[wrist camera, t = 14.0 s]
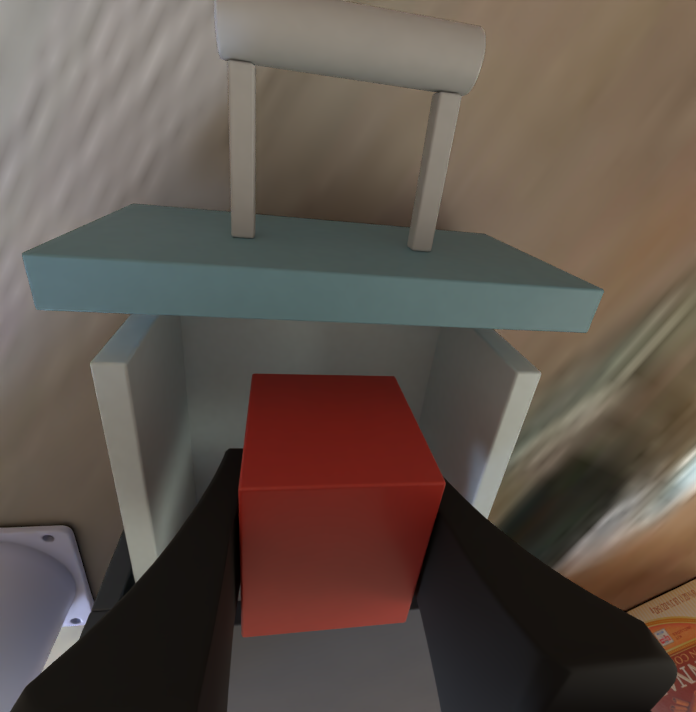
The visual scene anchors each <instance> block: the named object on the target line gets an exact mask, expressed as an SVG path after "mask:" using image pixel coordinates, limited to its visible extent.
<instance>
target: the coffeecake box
mask: <svg viewBox="0 0 696 712" xmlns="http://www.w3.org/2000/svg"><path fill="white" fill-rule="evenodd" d="M626 613H628V614H630V615H632V616H634V617H636V618H637V619H639V620H641V621H643V622H644V623H645V624H646V626H647V627H648V628H649V629H650V631H651V632H652V633H653V635H654V636H655V637H656V639H657V640H658V641H659V643H660V644H661V645H662V647H663V648H664V649H665V651H666V652H667V653H668V655H669V656H670V657H671V659H672V660H673V661H674V663H675V664H676V667H677V677H676V681H675V683H674V684H673V685H672V687H671V688H670V690H669V691H668V692H667V693H666V694H665V695H664V696H663V697H662V698H661V700H660V701H659V702H658V703H657V704H656V705H655V706H654V707H653V708H652V709H651V711H652V712H696V579H695V580H693V581H690V582H688V583H686V584H684V585H682V586H680V587H678V588H676V589H674V590H672V591H670V592H668V593H665V594H663V595H661V596H659V597H657V598H655V599H653V600H651V601H648V602H646V603H644V604H642V605H640V606H638V607H636V608H634V609H632V610H630V611H628V612H626Z"/></svg>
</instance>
